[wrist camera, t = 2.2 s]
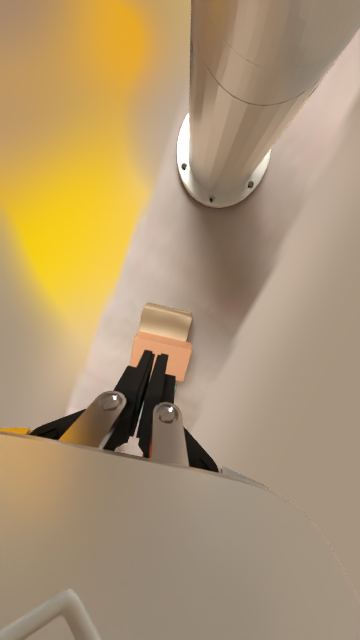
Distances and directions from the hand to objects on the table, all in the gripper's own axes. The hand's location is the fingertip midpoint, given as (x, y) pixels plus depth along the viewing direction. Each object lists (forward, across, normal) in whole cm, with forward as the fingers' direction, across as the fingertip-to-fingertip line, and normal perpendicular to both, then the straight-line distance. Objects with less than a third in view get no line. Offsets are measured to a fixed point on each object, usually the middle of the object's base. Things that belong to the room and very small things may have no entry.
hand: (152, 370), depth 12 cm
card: (+16, 0, +8) cm, 18 cm away
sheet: (+20, 0, +9) cm, 22 cm away
